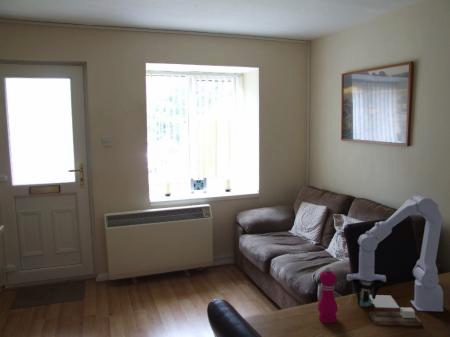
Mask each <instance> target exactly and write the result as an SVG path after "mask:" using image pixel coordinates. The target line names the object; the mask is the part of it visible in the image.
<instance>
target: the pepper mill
mask: <svg viewBox="0 0 450 337" xmlns="http://www.w3.org/2000/svg"><path fill="white" fill-rule="evenodd" d="M319 281H320V282H321V283H320V288H321V290H322V293H321V297H320V298H319V301H318V303H317V311H319V313H318V318H319V320H320V321H321V322H323V323H326V324H333V323H336V321H337V313H338V311H339V307H338V303H337V301H336V298H335V295H334V290H335V289H336V283H337V276H336V274H335V273H334V272H333V271H331V268H330V267H329V266H326V267H325V269H324V270H323V271H321V272H320V274H319Z"/></svg>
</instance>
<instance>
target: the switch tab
mask: <svg viewBox="0 0 450 337" xmlns="http://www.w3.org/2000/svg"><path fill="white" fill-rule="evenodd" d="M399 312H400V314H401V316H402V317H403V318H415V315H416V311H415V309H414V308H412V307H403V306H401V307H400V306H399Z"/></svg>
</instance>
